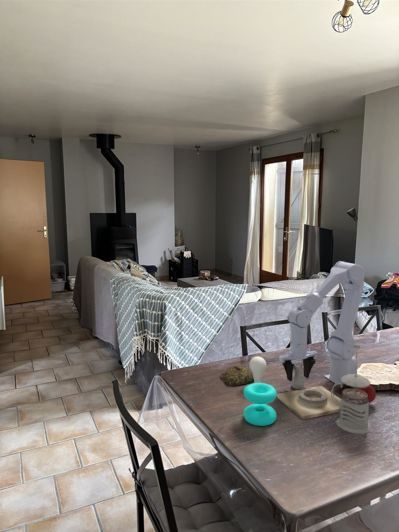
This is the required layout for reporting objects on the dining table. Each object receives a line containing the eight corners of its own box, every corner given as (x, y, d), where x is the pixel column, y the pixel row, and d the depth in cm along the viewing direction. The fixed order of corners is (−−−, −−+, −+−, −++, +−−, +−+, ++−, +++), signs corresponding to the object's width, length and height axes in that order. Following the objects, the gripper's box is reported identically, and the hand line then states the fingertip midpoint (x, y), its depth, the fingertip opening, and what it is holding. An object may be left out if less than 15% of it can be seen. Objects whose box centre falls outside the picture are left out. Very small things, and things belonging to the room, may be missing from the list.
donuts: (236, 386, 124) (261, 378, 130) (237, 416, 126) (261, 408, 131) (258, 399, 116) (283, 390, 121) (258, 431, 117) (283, 421, 123)
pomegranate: (374, 401, 134) (375, 378, 133) (375, 409, 129) (377, 385, 127) (355, 398, 136) (356, 376, 135) (356, 406, 131) (357, 383, 129)
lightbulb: (265, 390, 143) (266, 360, 142) (248, 389, 145) (248, 359, 143) (266, 383, 149) (266, 354, 148) (250, 381, 151) (250, 353, 149)
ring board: (321, 388, 144) (321, 380, 144) (351, 409, 129) (351, 400, 129) (276, 396, 138) (276, 388, 138) (302, 419, 123) (303, 410, 123)
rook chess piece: (289, 384, 148) (290, 363, 146) (301, 384, 148) (302, 363, 147) (293, 390, 143) (294, 368, 142) (306, 389, 144) (306, 368, 142)
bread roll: (259, 383, 150) (259, 370, 150) (228, 388, 146) (228, 375, 145) (244, 370, 162) (244, 358, 162) (215, 375, 158) (215, 362, 157)
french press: (368, 437, 113) (372, 351, 110) (326, 426, 120) (329, 344, 116) (374, 421, 122) (378, 341, 118) (334, 411, 128) (337, 335, 124)
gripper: (309, 336, 149) (308, 371, 151) (274, 341, 145) (274, 377, 147) (321, 342, 143) (320, 378, 145) (285, 347, 138) (284, 385, 140)
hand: (298, 378), depth 145 cm, fingers open, 6 cm apart
